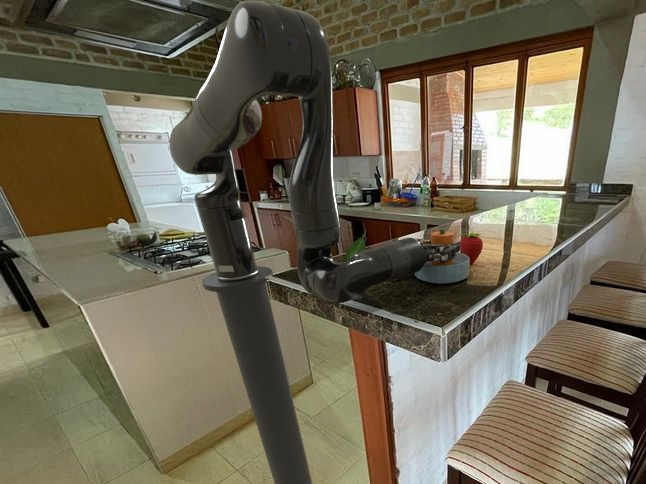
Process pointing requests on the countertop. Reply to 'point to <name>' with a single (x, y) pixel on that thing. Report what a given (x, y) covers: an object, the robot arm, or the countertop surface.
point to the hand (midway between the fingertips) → (448, 244)
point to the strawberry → (471, 246)
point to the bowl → (446, 271)
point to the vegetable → (442, 239)
